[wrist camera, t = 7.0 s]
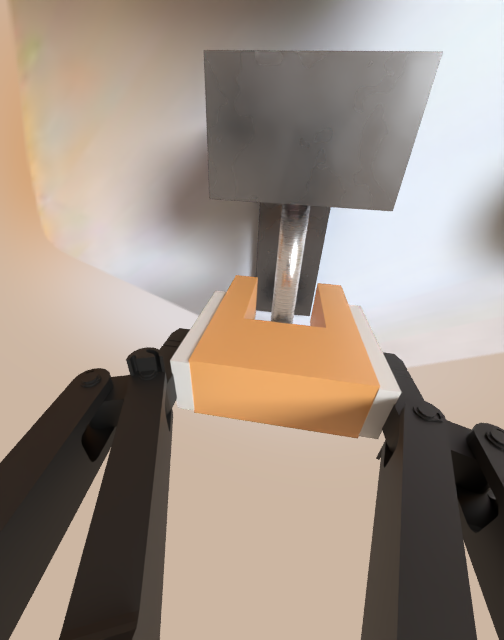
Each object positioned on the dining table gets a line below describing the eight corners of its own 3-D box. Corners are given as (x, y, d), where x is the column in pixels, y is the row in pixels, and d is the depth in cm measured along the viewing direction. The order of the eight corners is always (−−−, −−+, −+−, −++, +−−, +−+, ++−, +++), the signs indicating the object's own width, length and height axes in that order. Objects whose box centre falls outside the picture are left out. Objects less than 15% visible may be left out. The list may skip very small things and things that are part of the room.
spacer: (236, 275, 17) (188, 360, 10) (340, 285, 16) (380, 386, 9) (235, 313, 19) (194, 412, 11) (331, 324, 18) (357, 438, 10)
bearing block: (250, 109, 23) (203, 50, 11) (365, 112, 22) (442, 51, 10) (244, 305, 33) (216, 377, 22) (321, 313, 32) (335, 394, 21)
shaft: (260, 191, 20) (248, 198, 15) (335, 195, 20) (348, 205, 15) (251, 339, 28) (242, 377, 23) (305, 346, 28) (307, 386, 23)
